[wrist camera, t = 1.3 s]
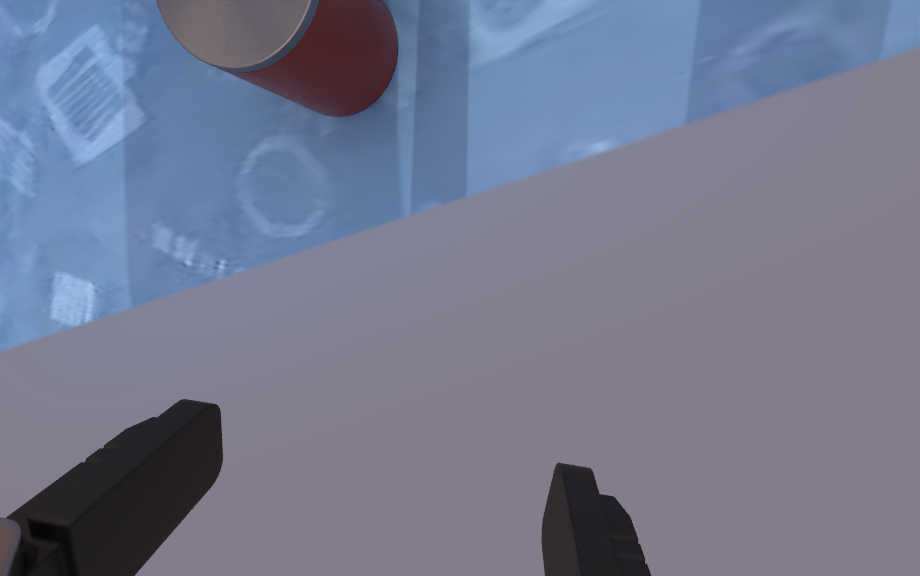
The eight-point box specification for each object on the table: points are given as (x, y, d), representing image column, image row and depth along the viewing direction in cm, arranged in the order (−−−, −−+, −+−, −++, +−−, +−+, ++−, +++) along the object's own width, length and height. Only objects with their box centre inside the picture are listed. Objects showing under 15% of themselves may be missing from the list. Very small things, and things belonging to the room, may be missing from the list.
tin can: (265, 10, 29) (125, -90, 20) (375, -43, 27) (279, -183, 18) (303, 133, 30) (186, 95, 21) (413, 91, 28) (341, 26, 19)
